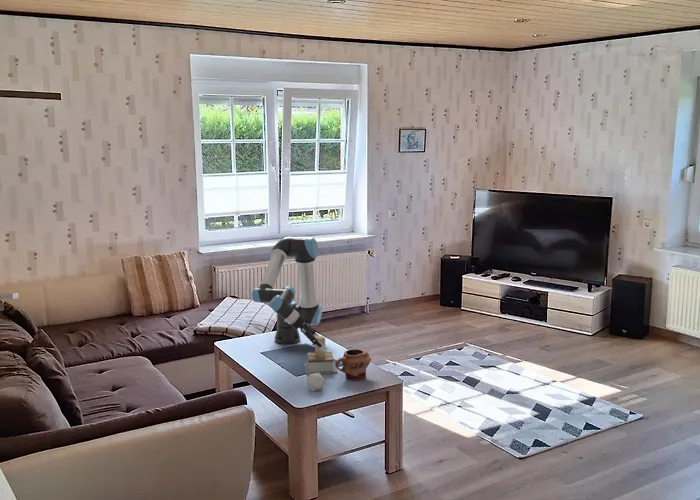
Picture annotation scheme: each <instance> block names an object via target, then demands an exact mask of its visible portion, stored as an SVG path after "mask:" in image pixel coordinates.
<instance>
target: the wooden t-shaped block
mask: <svg viewBox="0 0 700 500" xmlns="http://www.w3.org/2000/svg"><path fill="white" fill-rule="evenodd" d="M315 338H316V339H317V340H319V341H320V342H321V343H322V344H323V345H324V346H325V347H326V337H325V336H324V335H321V336H320V335H319V336H315ZM314 350H315V351H314V352H307V354H306V355H307V363H311V362H334V363H335V360H334V355H333V351H325V352H323V351H322V350H321V349H319V348H318V347H317V346H316V345H314Z"/></svg>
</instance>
